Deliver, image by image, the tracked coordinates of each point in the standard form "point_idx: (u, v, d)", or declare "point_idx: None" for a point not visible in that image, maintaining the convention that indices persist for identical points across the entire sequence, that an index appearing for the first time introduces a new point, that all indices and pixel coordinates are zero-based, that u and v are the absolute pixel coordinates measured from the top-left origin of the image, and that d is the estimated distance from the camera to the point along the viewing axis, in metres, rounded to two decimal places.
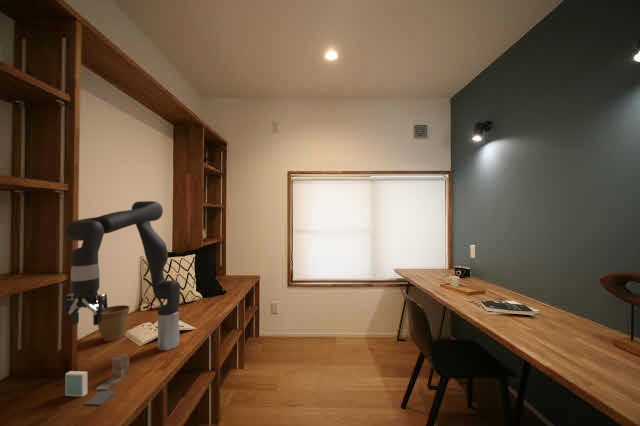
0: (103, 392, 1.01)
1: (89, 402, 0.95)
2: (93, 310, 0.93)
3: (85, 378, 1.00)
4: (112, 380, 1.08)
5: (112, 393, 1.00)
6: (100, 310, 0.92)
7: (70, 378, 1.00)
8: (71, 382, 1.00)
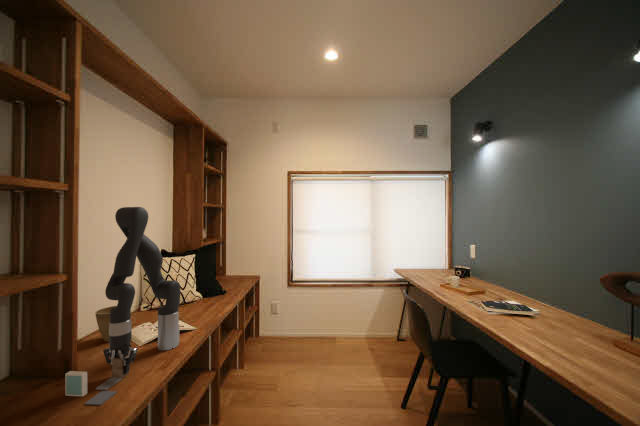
0: (103, 392, 1.01)
1: (89, 402, 0.95)
2: (123, 361, 1.10)
3: (85, 378, 1.00)
4: (112, 380, 1.08)
5: (112, 393, 1.00)
6: (129, 362, 1.10)
7: (70, 378, 1.00)
8: (71, 382, 1.00)
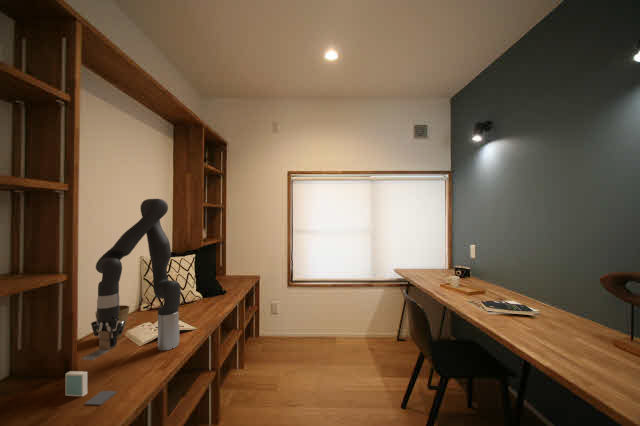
0: (103, 392, 1.01)
1: (89, 402, 0.95)
2: (111, 334, 1.13)
3: (85, 378, 1.00)
4: (98, 352, 1.10)
5: (112, 393, 1.00)
6: (116, 334, 1.12)
7: (70, 378, 1.00)
8: (71, 382, 1.00)
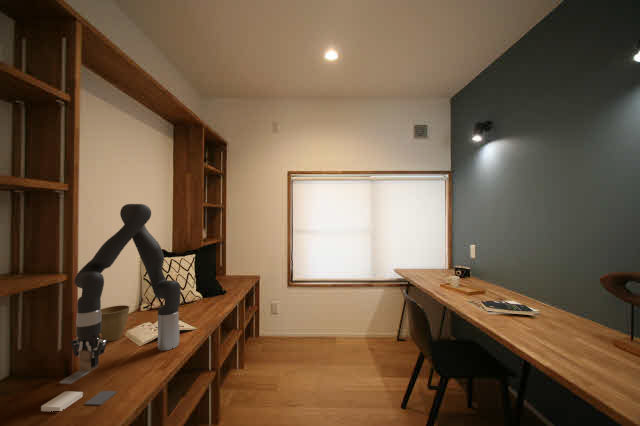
0: (103, 392, 1.01)
1: (89, 402, 0.95)
2: (92, 354, 1.04)
3: (66, 405, 0.93)
4: (78, 374, 1.01)
5: (112, 393, 1.00)
6: (97, 354, 1.04)
7: None
8: None
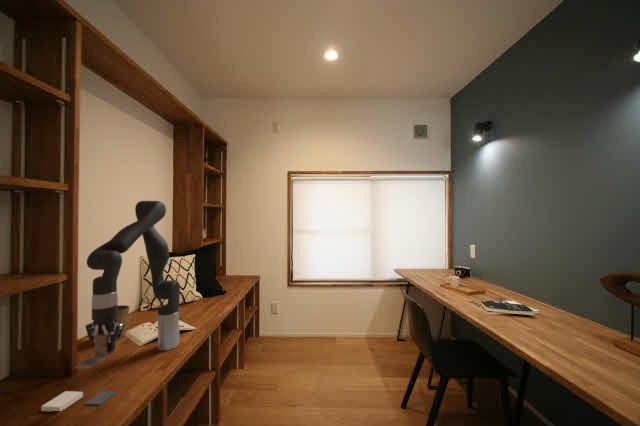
0: (103, 392, 1.01)
1: (89, 402, 0.95)
2: (108, 338, 0.98)
3: (66, 405, 0.93)
4: (94, 359, 0.95)
5: (112, 393, 1.00)
6: (114, 338, 0.98)
7: None
8: None
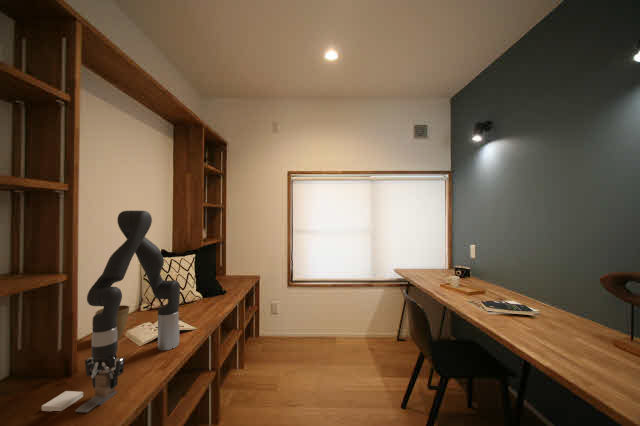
0: None
1: None
2: (110, 374, 0.98)
3: (66, 405, 0.93)
4: (94, 400, 0.95)
5: (112, 393, 1.00)
6: (116, 375, 0.98)
7: None
8: None
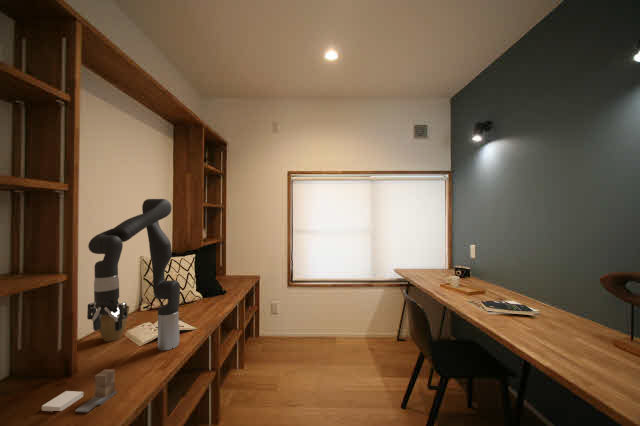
0: None
1: None
2: (114, 317, 1.02)
3: (66, 405, 0.93)
4: (94, 400, 0.95)
5: (112, 393, 1.00)
6: (121, 317, 1.01)
7: None
8: None
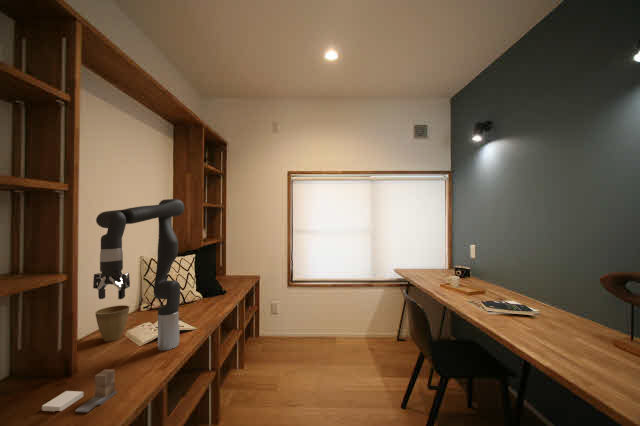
0: None
1: None
2: (118, 286, 1.10)
3: (66, 405, 0.93)
4: (94, 400, 0.95)
5: (112, 393, 1.00)
6: (124, 286, 1.10)
7: None
8: None
